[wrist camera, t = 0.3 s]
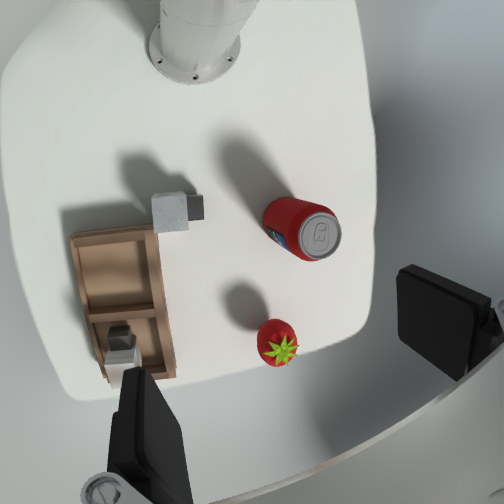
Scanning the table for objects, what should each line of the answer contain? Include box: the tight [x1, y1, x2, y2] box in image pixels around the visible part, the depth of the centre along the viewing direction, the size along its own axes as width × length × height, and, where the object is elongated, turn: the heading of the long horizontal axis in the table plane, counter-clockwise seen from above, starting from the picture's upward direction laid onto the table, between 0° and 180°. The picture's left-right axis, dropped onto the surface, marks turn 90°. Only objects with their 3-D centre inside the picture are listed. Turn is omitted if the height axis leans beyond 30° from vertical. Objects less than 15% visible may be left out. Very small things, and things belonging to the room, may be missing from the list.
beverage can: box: [263, 197, 342, 261], centre depth 40 cm, size 7×7×12 cm
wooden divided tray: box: [69, 224, 177, 389], centre depth 38 cm, size 22×12×9 cm, turn 2°
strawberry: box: [257, 319, 299, 367], centre depth 45 cm, size 6×8×10 cm
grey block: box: [151, 191, 204, 233], centre depth 38 cm, size 6×4×7 cm, turn 92°
